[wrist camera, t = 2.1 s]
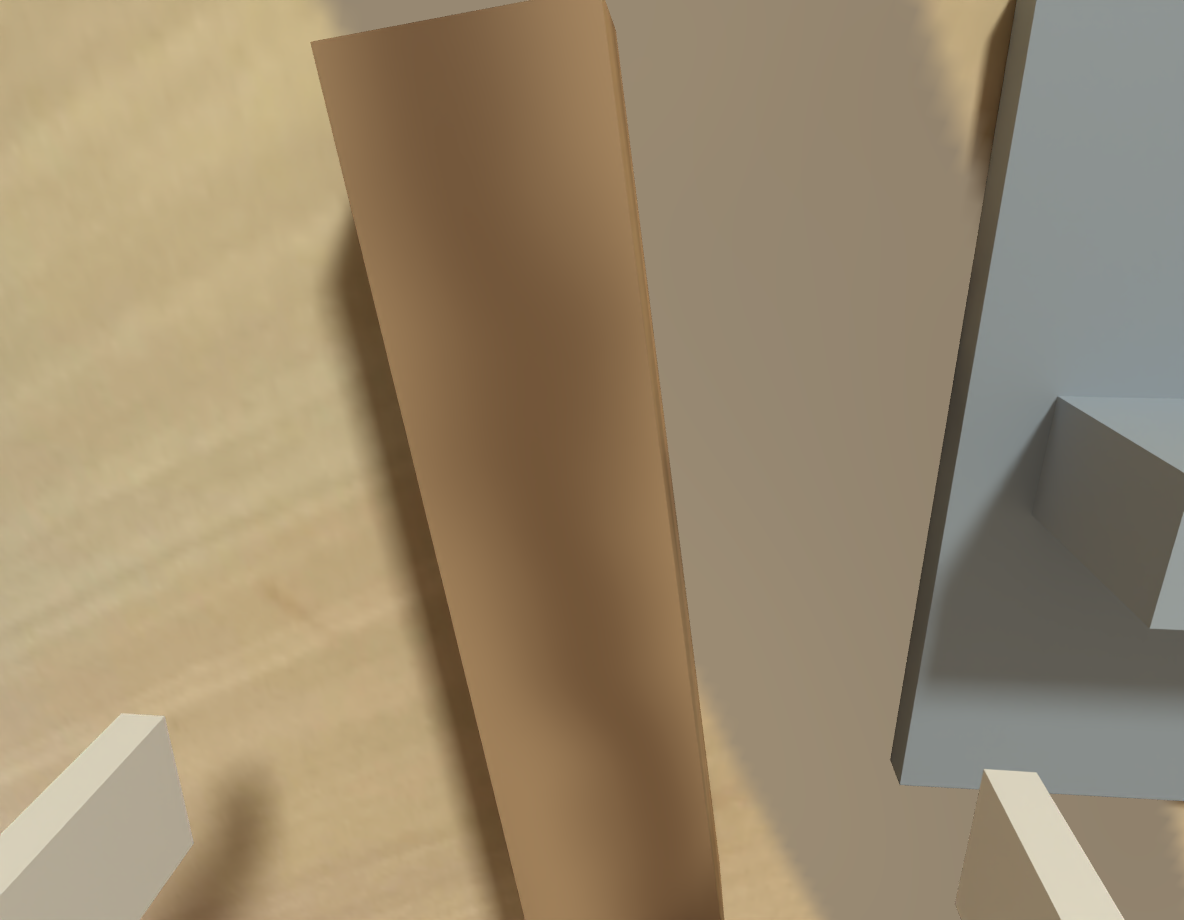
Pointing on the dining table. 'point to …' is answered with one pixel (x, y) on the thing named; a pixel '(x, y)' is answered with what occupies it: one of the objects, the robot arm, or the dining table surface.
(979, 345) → the fulcrum
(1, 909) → the robot arm
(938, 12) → the dining table surface
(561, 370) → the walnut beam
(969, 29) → the dining table surface
